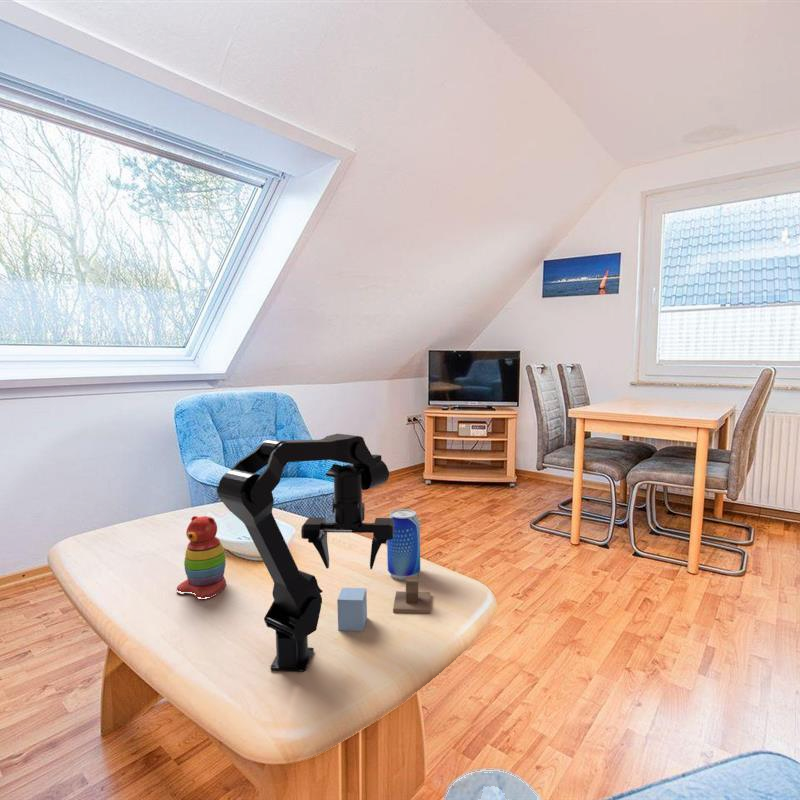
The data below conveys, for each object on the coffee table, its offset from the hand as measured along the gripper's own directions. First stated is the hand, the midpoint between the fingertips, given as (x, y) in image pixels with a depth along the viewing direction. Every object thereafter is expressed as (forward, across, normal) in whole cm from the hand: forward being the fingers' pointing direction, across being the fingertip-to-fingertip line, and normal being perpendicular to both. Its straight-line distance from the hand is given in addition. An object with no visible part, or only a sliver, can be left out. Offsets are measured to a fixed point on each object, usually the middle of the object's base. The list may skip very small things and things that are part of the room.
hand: (349, 568), depth 104 cm
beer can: (+12, -10, -23) cm, 28 cm away
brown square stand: (+12, -13, -8) cm, 19 cm away
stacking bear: (+12, +38, -15) cm, 42 cm away
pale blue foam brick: (+12, -1, 0) cm, 12 cm away
